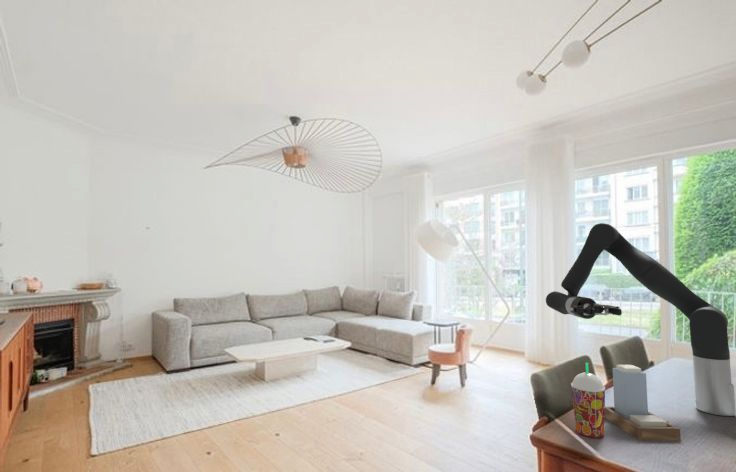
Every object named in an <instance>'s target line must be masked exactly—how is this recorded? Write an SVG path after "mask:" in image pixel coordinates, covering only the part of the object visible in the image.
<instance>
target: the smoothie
mask: <svg viewBox="0 0 736 472" xmlns="http://www.w3.org/2000/svg"><path fill="white" fill-rule="evenodd" d="M570 386H571V394H572V405H573V415H574V423H575V424H574V425H575V431H576V432H577V433H578V434H580V435H581V436H583V437H586V438H592V439H600V438H602V437H604V435H605V417H604V413H605V407H606V404H605V403H606V401H605V400H606V386H604V384H603V382H602V380H601V379H600V378H599V377H598V376H597V375H595V374H594V373H591V372H589V362H585V372H581V373H578V374H577V375H575V376H574V378H573V380H572V382H570Z"/></svg>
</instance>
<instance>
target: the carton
mask: <svg viewBox="0 0 736 472" xmlns="http://www.w3.org/2000/svg"><path fill="white" fill-rule="evenodd" d="M612 385H613V386H612V387H613V407H614V410H615V412H616V413H618V414H619V415H621V416H623V417H624V418H626V419H628V420H629V421H630V415H648V412H649V407H648V388H647V387H648V386H647V373H645V372H643V371H642V368H640V367H638V366H635V365H633V364H616V367H612Z"/></svg>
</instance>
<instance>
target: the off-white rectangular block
mask: <svg viewBox="0 0 736 472" xmlns="http://www.w3.org/2000/svg"><path fill="white" fill-rule="evenodd" d="M657 416H658V415H656V416H655V414H654V415H630V421H631V422H632V423H634V424H636V425H637V426H639V427H667V422H668V421H667V422H666V420H665V419H663V418H661V417H659V416H658V417H657Z"/></svg>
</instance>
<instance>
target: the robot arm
mask: <svg viewBox="0 0 736 472" xmlns="http://www.w3.org/2000/svg"><path fill="white" fill-rule="evenodd" d="M604 251H605V252H607V253H609V254H610V255H612V257H614V258H615V259H617V260H618V261H619V262H620V263H621V264H622V266H624V268H625V269H626V270H627V271H628V273H630V275H631V276H632V277H633V278H635V280H636V281H638V282H639V283H641V285H643V286H644V287H645V288H646V289H647V290H649V292H652V293H653V294H654V295H657V296H658V297H660V298H661V299H663V300H664V301H666V302H668V303H669V304H671V305H673V306H674V307H675V308H677V310H679V311H680V312H681V313H682V314H683V315H684V316H685V317H686V318H687V319H688V320H689V334H690V335H689V336H690V346H691V350H692V363H693V364H692V365H693V379H694V381H693V383H694V394H695V395H694V396H695V397H694V398H695V400H694V401H695V407H696V409H697V410H699V411H701V412H703V413H707V414H711V415H715V416H716V415H717V416H724V417H729V416H730V417H736V402H735V401H736V400H735V386H734V384H733V382H732V372H731V370H732V369H731V355H730V347H729V339H728V338H729V337H728V335H729V334H728V325H729V320H728V318H727V315H726V314H725V313H724V311H723V312H722V311H721V310H720V309H718V308H717V307H715V306H714V305H712V304H711V303H709V302H707V301H706V300H705V299H703V298H701V297H700V296H699V295H697V294H696V293H695V292H693V291H692V290H691V289H690V288H688V286H687V285H686V284H685V283H683V281H682V280H680V279H679V278H678V277H677V276H676V275H675V274H673V273H672V271H670V270H669V269H667V268H666V267H665V266H664V265H662V264H661V263H660V262H658V260H655V259H654V258H652V257H651V256H649V254H647V253H645V252H643V251H642V250H640V249H638V248H637V247H635V246H634V245H633V244H631V243H630V242H629V241H628V239H626V238H625V237H624V236H623V235H622V234H621V233H620V232H619V230H617V229H616V227H614V226H613V225H611V224H610V223H605V222H599V223H596V224H595V225H593V226H592V227H591V228H590V230H589V233H588V235H587V238H586V240H585V243H584V245H583V247H582V248H581V251H580V253H579V255H578V256H577V258H576V260H575V261H574V263H573V264H572V266H571V268H570V269H569V270H568V272H567V273H566V274H565V276H564V278H563V279H562V281H561V284H560V286H561V287H562V288H563V289H564V290H565V291H567V294H565V293H562V292H560V291H555V290H554V291H551V292H549V293H548V294H547V295H546V297H545V303H546V306H548V307H549V308H550V309H552V310H554V311H556V312H558V313H560V314H563V315H572V316H573V317H577V318H581V319H585V320H590V319H593V318H594V317H595V316H609V315H613V316H614V315H615V316H622V311H623V309H621V308H620V307H621V306H618V305H617V306H616V305H609V304H600V303H597V302H596V301H595V300H594V299H592V298H591V297H585V296H581V295H580V296H578V295H579V293H580V291H581V289H582V288H583V286H584V285H585V283H586V281H587V280H588V278H589V276H590V274H591V272H592V270H593V267H594V265H595V263H596V261H597V259H598V258H599V256H600V255H601V254H602V253H603V252H604Z"/></svg>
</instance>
